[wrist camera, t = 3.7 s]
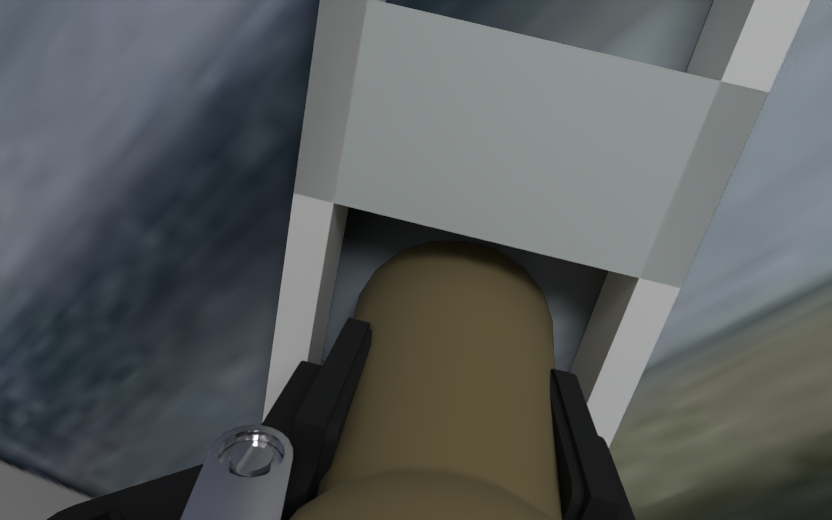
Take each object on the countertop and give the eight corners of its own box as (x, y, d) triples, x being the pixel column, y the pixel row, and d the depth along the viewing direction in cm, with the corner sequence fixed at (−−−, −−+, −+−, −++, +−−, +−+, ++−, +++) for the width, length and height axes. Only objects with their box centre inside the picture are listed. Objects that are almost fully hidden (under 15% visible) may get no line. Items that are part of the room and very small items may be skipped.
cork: (455, 450, 16) (426, 1071, 6) (314, 334, 15) (0, 832, 5) (597, 335, 14) (907, 954, 4) (446, 196, 14) (366, 546, 3)
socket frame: (922, -387, 9) (1040, -510, 7) (554, 492, 16) (565, 544, 15) (419, -492, 9) (406, -637, 7) (280, 421, 17) (256, 463, 15)
